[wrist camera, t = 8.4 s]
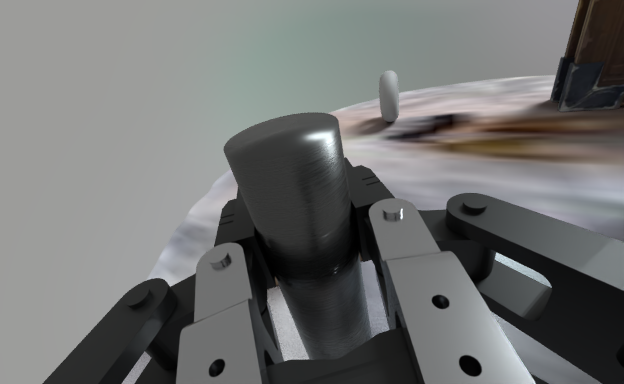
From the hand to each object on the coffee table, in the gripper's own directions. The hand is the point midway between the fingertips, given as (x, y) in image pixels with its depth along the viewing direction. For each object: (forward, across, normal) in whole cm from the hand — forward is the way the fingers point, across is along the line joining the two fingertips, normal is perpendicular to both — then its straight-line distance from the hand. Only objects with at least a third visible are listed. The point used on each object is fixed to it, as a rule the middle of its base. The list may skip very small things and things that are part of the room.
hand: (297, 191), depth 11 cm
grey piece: (+5, 0, +10) cm, 11 cm away
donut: (+44, -23, +15) cm, 51 cm away
